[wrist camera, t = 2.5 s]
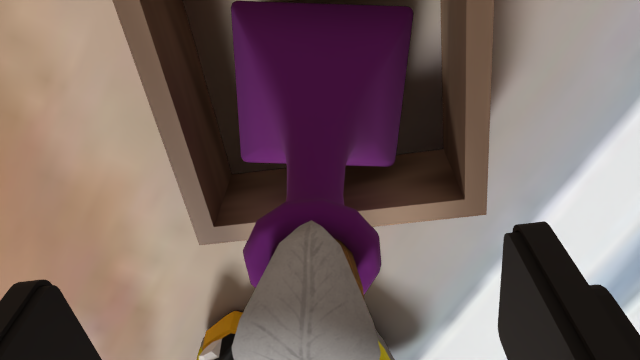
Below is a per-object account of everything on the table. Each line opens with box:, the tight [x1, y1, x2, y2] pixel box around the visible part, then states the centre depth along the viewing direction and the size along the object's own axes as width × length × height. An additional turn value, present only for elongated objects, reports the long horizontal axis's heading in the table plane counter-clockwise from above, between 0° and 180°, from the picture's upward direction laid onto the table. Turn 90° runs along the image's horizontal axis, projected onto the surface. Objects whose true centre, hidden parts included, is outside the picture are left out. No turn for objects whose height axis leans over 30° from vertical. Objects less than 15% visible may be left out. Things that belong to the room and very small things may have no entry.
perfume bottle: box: [231, 1, 413, 360], centre depth 17 cm, size 8×8×18 cm
